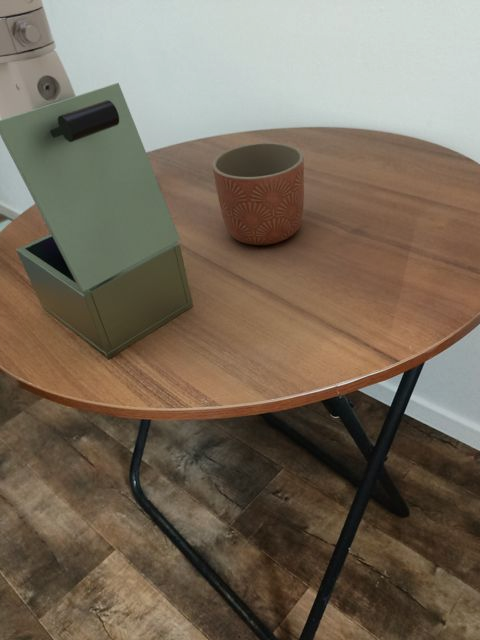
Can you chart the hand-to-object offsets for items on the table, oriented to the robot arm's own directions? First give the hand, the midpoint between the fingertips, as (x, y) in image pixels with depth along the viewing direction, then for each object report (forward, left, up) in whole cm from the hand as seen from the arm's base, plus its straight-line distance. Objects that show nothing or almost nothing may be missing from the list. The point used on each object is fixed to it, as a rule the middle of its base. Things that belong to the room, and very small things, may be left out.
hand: (73, 215), depth 60 cm
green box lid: (+8, 0, +5) cm, 10 cm away
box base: (+3, 0, -12) cm, 12 cm away
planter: (+5, +25, -12) cm, 28 cm away
